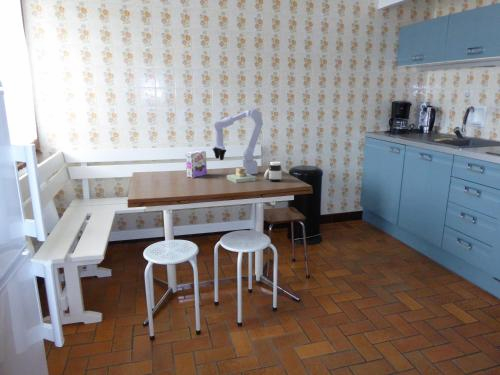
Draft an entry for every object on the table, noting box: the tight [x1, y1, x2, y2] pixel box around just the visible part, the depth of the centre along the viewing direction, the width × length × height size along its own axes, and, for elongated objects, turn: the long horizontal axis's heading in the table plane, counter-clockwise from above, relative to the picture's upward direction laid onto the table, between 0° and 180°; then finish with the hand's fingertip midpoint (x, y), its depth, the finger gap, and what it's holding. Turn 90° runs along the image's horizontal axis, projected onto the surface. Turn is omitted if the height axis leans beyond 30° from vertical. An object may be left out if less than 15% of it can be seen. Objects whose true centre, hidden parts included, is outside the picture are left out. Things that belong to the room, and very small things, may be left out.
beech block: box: [235, 166, 246, 177], centre depth 247 cm, size 5×5×5 cm
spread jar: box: [263, 161, 283, 183], centre depth 245 cm, size 12×11×12 cm
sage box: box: [226, 173, 257, 184], centre depth 248 cm, size 14×14×3 cm
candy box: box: [185, 150, 208, 179], centre depth 258 cm, size 14×6×16 cm, turn 143°
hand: (219, 159), depth 263 cm, fingers open, 7 cm apart
